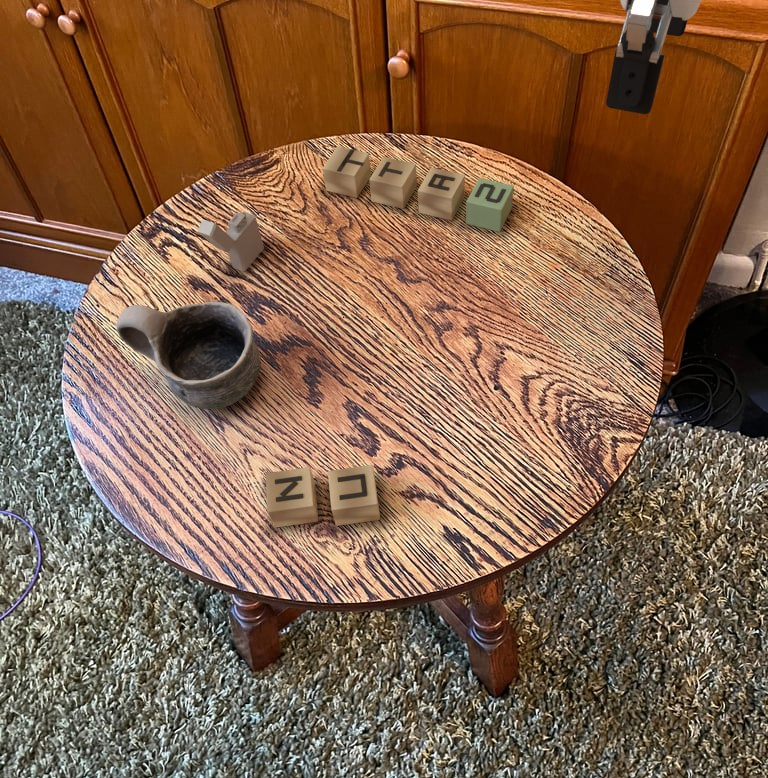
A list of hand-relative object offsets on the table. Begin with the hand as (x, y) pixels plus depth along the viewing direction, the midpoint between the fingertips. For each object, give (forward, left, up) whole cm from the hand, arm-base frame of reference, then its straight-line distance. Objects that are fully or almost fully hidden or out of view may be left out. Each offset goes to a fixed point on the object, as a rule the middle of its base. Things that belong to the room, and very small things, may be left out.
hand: (645, 68), depth 57 cm
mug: (+40, +4, -24) cm, 47 cm away
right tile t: (+18, -20, -24) cm, 36 cm away
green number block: (+8, -14, -24) cm, 29 cm away
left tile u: (+27, +20, -24) cm, 41 cm away
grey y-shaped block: (+36, -12, -24) cm, 45 cm away
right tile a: (+13, -17, -24) cm, 32 cm away
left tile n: (+32, +19, -24) cm, 44 cm away
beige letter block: (+23, -23, -24) cm, 40 cm away
